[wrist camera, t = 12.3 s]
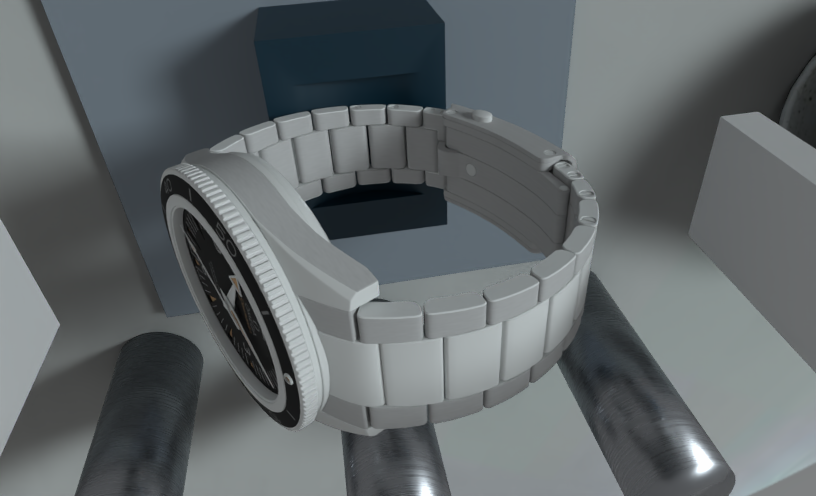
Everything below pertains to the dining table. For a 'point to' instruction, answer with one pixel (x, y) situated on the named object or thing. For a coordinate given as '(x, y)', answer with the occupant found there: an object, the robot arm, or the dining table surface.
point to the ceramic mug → (802, 106)
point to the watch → (373, 227)
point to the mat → (245, 107)
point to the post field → (416, 446)
